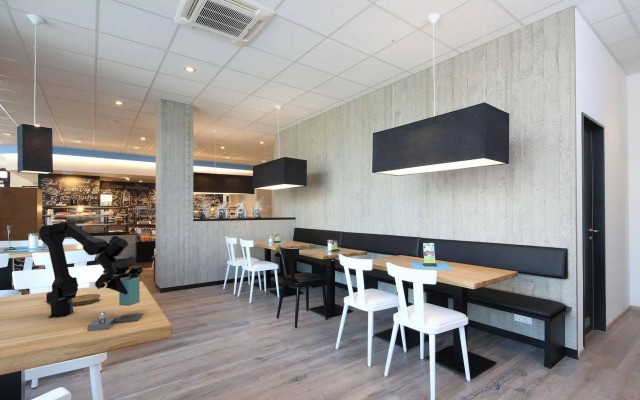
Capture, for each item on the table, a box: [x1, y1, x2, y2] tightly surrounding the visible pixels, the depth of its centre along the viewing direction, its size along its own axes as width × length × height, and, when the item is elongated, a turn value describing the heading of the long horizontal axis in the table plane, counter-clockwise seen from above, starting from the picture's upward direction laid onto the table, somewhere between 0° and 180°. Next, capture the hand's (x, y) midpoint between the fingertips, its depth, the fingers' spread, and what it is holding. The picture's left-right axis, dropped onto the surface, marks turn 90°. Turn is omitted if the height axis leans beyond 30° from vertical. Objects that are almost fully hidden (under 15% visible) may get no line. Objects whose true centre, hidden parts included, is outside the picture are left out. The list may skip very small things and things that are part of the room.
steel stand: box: [87, 311, 117, 332], centre depth 121 cm, size 7×7×5 cm
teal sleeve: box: [118, 277, 141, 307], centre depth 130 cm, size 5×5×10 cm
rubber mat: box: [115, 313, 144, 324], centre depth 129 cm, size 8×8×1 cm
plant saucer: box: [71, 293, 101, 307], centre depth 157 cm, size 15×15×3 cm
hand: (132, 292), depth 129 cm, fingers closed on teal sleeve, 5 cm apart
